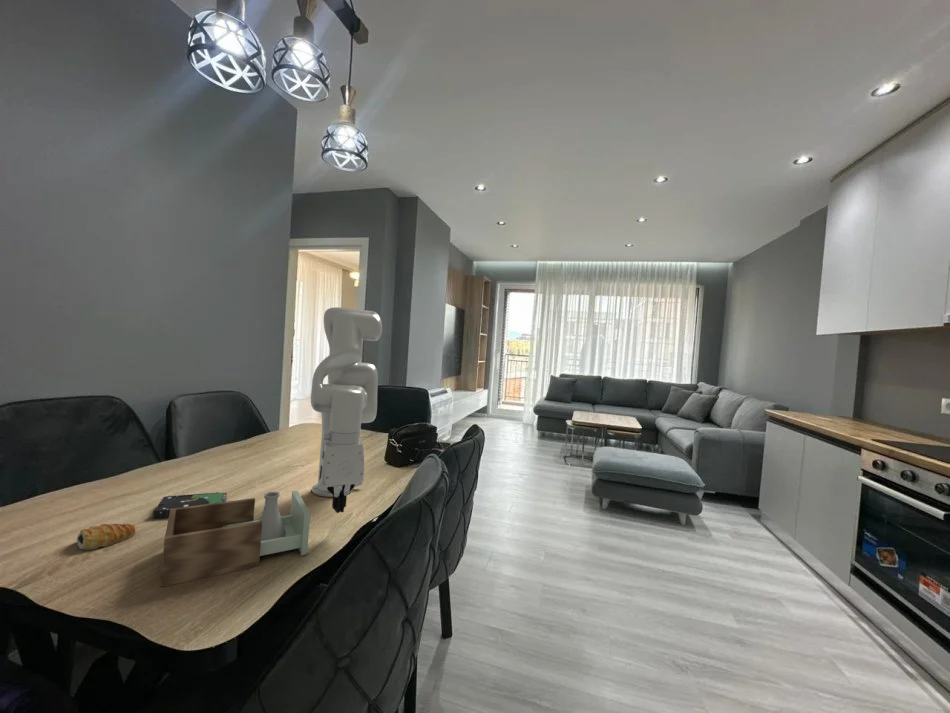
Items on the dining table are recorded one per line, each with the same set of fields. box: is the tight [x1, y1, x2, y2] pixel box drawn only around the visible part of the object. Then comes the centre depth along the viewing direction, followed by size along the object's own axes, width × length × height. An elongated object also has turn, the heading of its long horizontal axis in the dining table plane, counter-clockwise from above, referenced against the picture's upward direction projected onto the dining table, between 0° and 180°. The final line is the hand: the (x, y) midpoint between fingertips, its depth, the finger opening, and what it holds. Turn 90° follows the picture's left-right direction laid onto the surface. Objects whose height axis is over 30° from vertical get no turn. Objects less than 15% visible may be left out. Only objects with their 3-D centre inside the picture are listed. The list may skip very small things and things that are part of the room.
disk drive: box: [152, 491, 228, 520], centre depth 105 cm, size 10×3×15 cm
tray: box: [223, 490, 311, 557], centre depth 88 cm, size 16×15×9 cm
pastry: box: [76, 523, 136, 551], centre depth 86 cm, size 9×7×4 cm
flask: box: [258, 491, 286, 541], centre depth 88 cm, size 7×7×10 cm
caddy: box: [160, 497, 262, 588], centre depth 82 cm, size 16×15×9 cm
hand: (338, 510), depth 97 cm, fingers closed
